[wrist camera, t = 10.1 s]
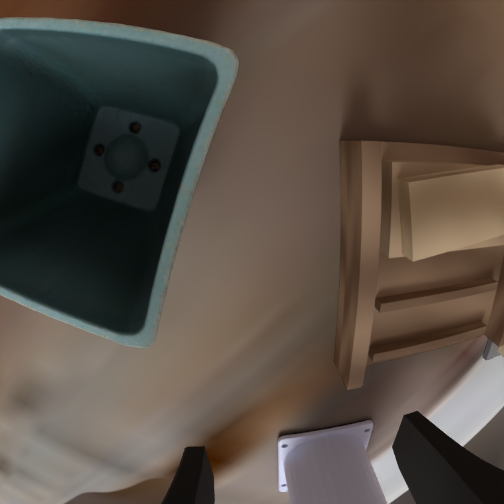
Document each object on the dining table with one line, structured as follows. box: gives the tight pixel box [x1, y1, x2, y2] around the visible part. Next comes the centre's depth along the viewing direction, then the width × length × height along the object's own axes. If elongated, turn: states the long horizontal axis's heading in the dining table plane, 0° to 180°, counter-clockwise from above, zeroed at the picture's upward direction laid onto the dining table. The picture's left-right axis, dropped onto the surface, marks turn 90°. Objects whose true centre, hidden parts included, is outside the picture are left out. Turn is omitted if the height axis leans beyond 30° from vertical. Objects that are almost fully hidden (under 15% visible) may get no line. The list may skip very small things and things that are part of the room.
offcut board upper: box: [396, 164, 504, 262], centre depth 15 cm, size 4×8×1 cm, turn 102°
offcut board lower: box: [379, 160, 504, 258], centre depth 16 cm, size 5×10×1 cm, turn 94°
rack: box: [334, 141, 504, 390], centre depth 17 cm, size 14×14×3 cm
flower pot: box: [0, 17, 239, 348], centre depth 11 cm, size 9×9×9 cm
